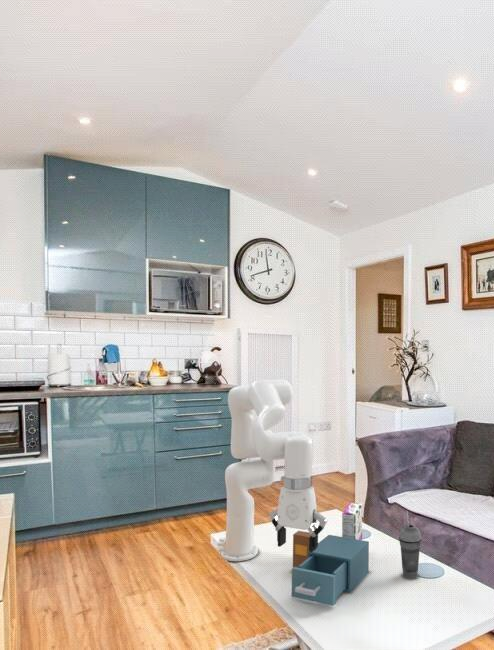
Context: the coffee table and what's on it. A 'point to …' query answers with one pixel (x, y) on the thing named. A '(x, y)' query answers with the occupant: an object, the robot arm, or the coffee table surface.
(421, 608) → the coffee table surface
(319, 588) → the drawer
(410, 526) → the beverage cup
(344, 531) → the candy bar box
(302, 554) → the brown rectangular box
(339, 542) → the cabinet
